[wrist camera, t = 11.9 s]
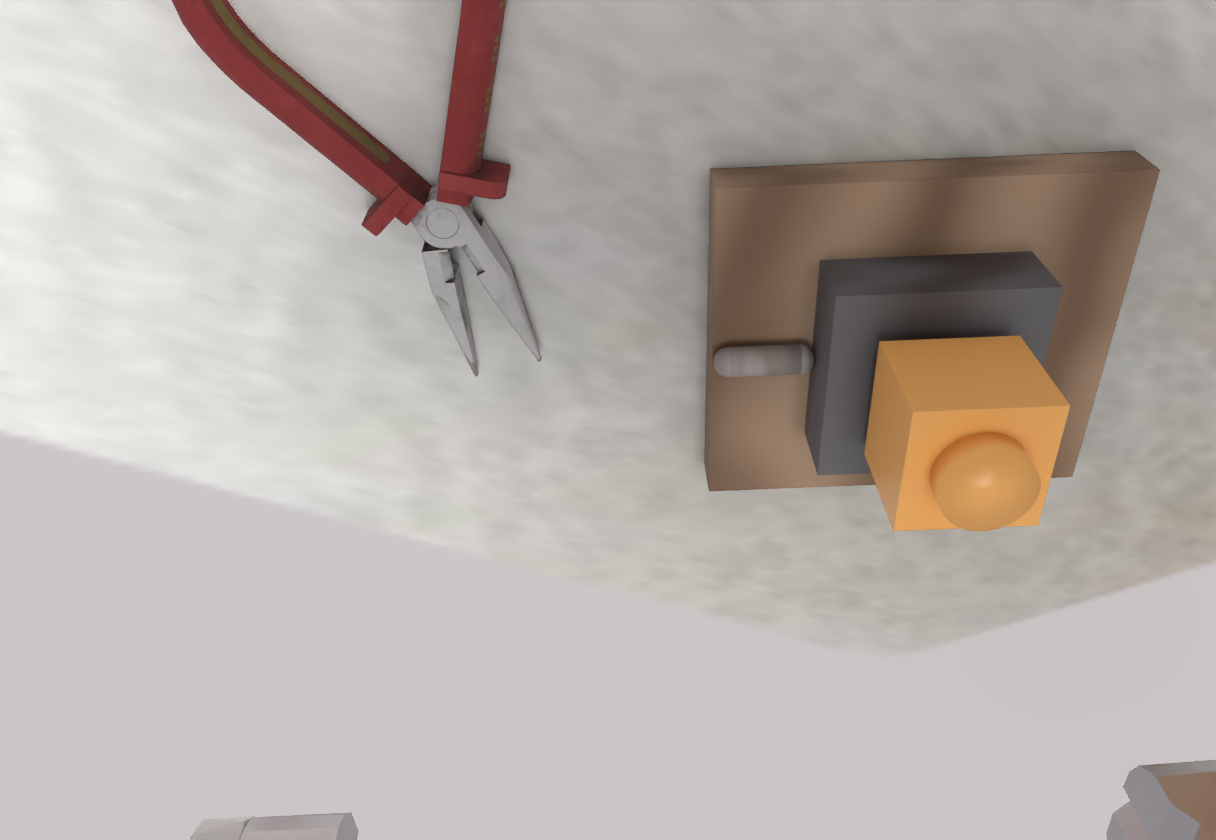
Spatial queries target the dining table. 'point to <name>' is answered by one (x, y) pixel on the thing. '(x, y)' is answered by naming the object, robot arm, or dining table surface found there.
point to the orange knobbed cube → (963, 433)
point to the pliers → (381, 172)
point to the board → (897, 223)
